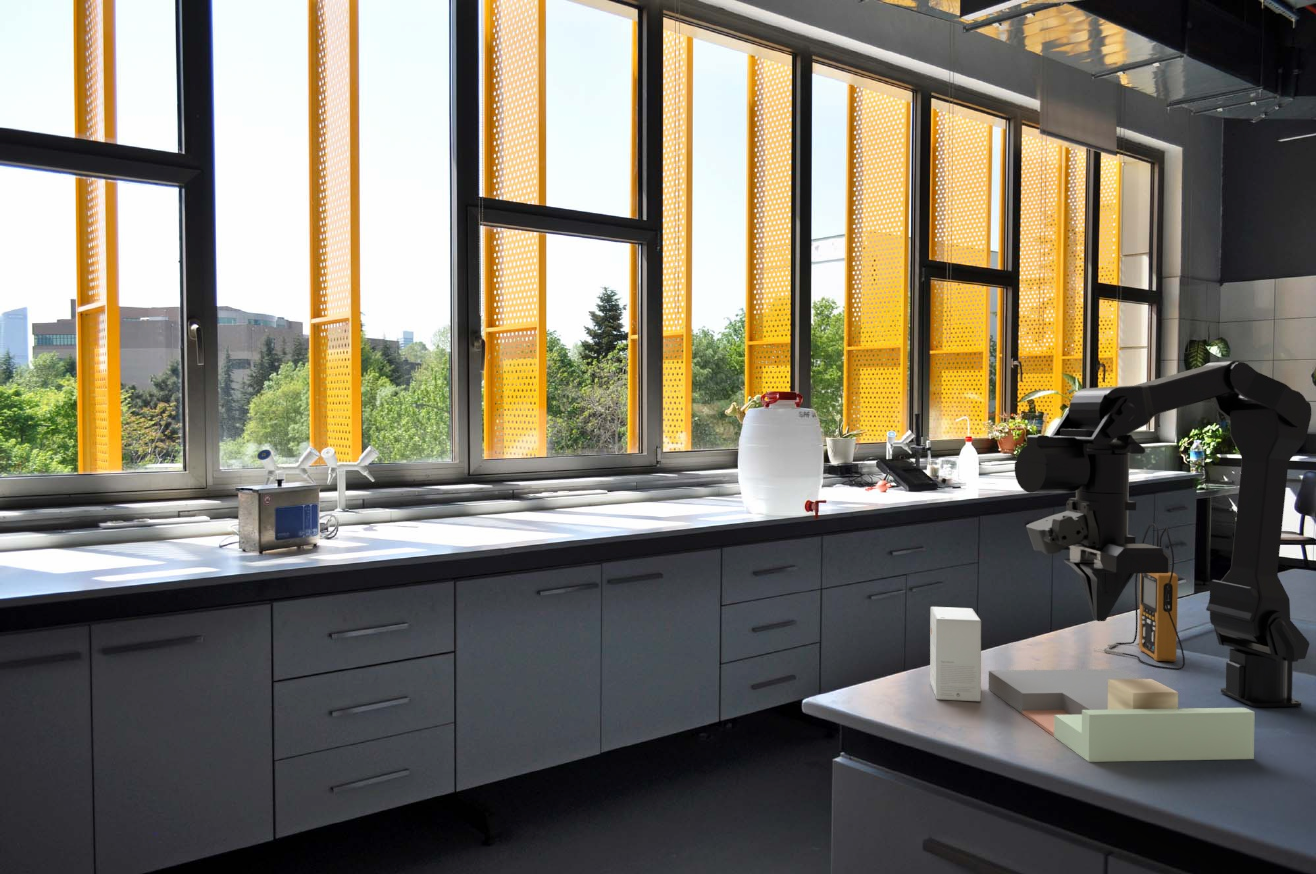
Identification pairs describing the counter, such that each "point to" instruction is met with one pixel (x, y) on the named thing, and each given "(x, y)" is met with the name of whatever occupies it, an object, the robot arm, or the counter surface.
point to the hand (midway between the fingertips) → (1099, 620)
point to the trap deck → (1121, 719)
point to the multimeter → (1156, 614)
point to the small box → (955, 653)
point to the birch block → (1140, 695)
